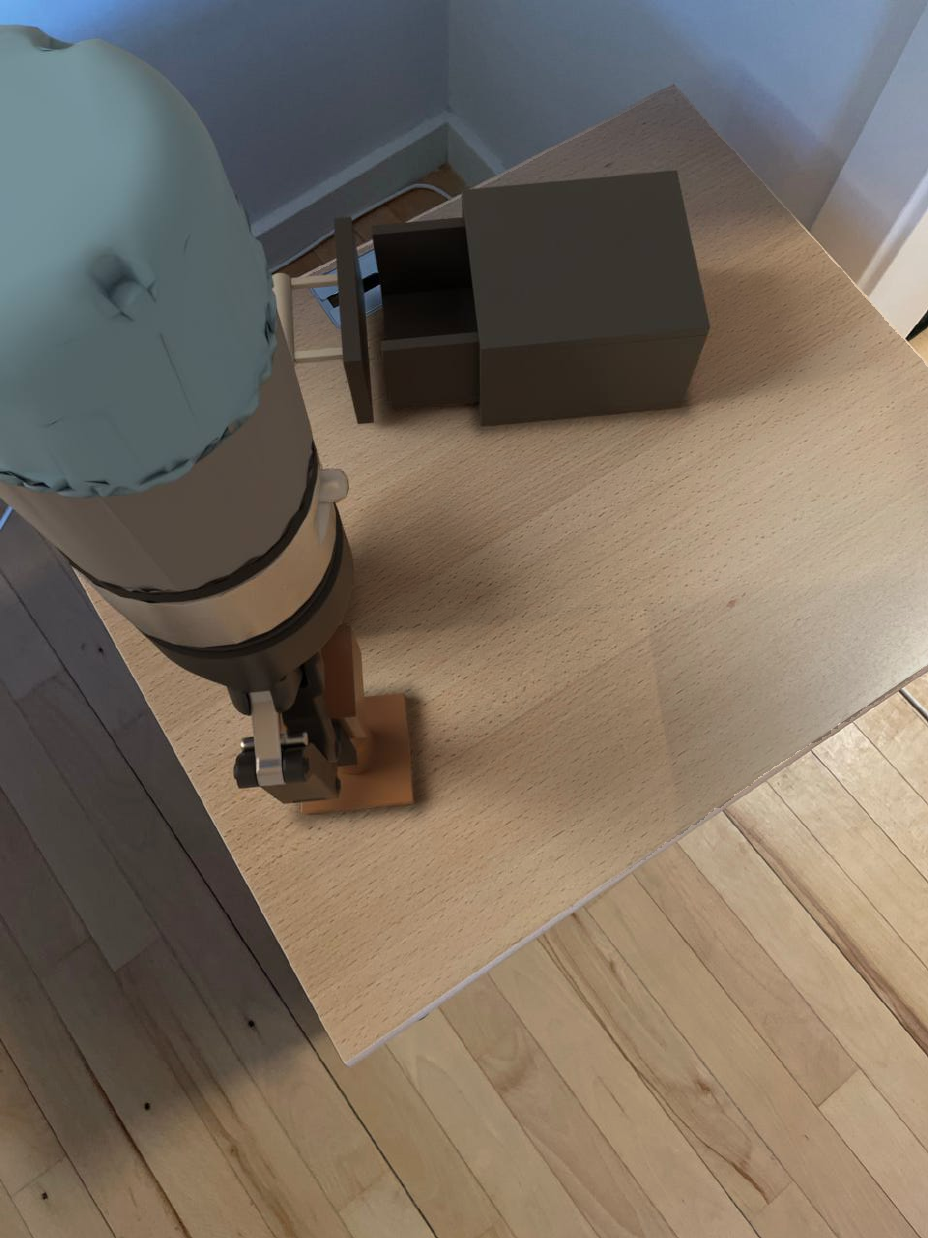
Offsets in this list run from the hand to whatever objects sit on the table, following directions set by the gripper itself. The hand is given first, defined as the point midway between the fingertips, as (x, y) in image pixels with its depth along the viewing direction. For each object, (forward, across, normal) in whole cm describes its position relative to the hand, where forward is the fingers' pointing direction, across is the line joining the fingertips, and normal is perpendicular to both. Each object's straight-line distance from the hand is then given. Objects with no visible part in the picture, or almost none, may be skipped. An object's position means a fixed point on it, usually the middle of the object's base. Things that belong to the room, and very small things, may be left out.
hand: (328, 712), depth 53 cm
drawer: (+10, +29, -6) cm, 32 cm away
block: (-3, 0, 0) cm, 3 cm away
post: (+11, 0, 0) cm, 11 cm away
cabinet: (+11, +29, -18) cm, 36 cm away
